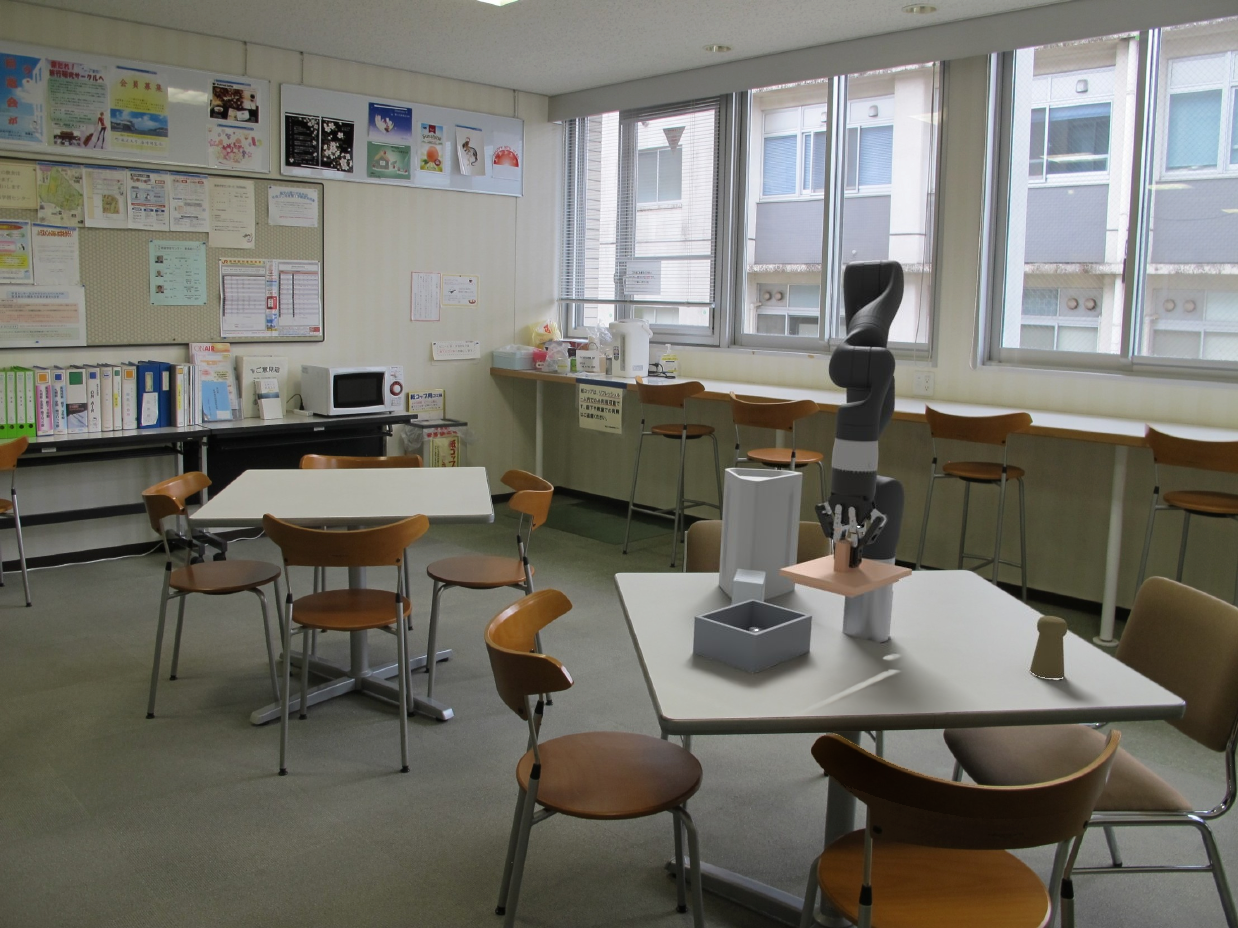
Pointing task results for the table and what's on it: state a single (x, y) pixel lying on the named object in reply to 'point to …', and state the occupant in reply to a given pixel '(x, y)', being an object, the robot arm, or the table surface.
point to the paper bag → (760, 526)
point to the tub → (752, 635)
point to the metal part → (755, 629)
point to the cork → (1049, 648)
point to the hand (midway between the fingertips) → (846, 565)
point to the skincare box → (748, 586)
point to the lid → (844, 573)
